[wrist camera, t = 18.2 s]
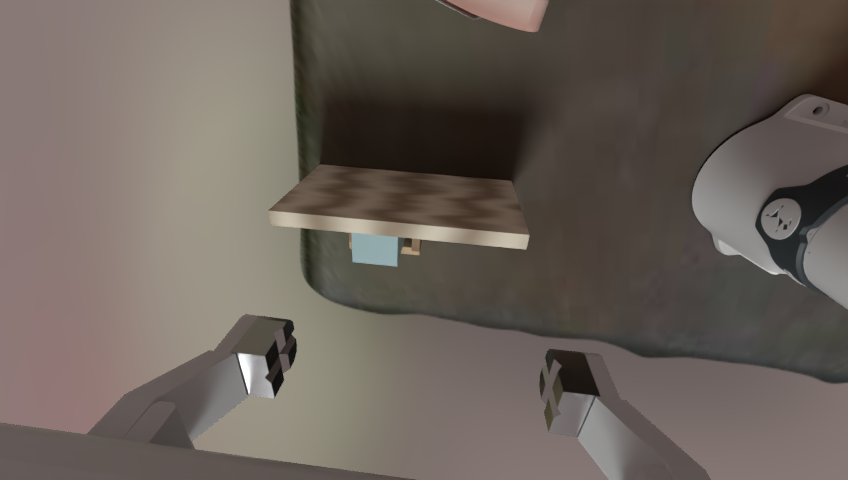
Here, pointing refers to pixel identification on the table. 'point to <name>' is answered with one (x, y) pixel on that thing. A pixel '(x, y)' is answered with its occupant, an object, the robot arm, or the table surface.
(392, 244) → the cabinet block
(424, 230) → the cleat board
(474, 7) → the bucket of meat
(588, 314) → the table surface
